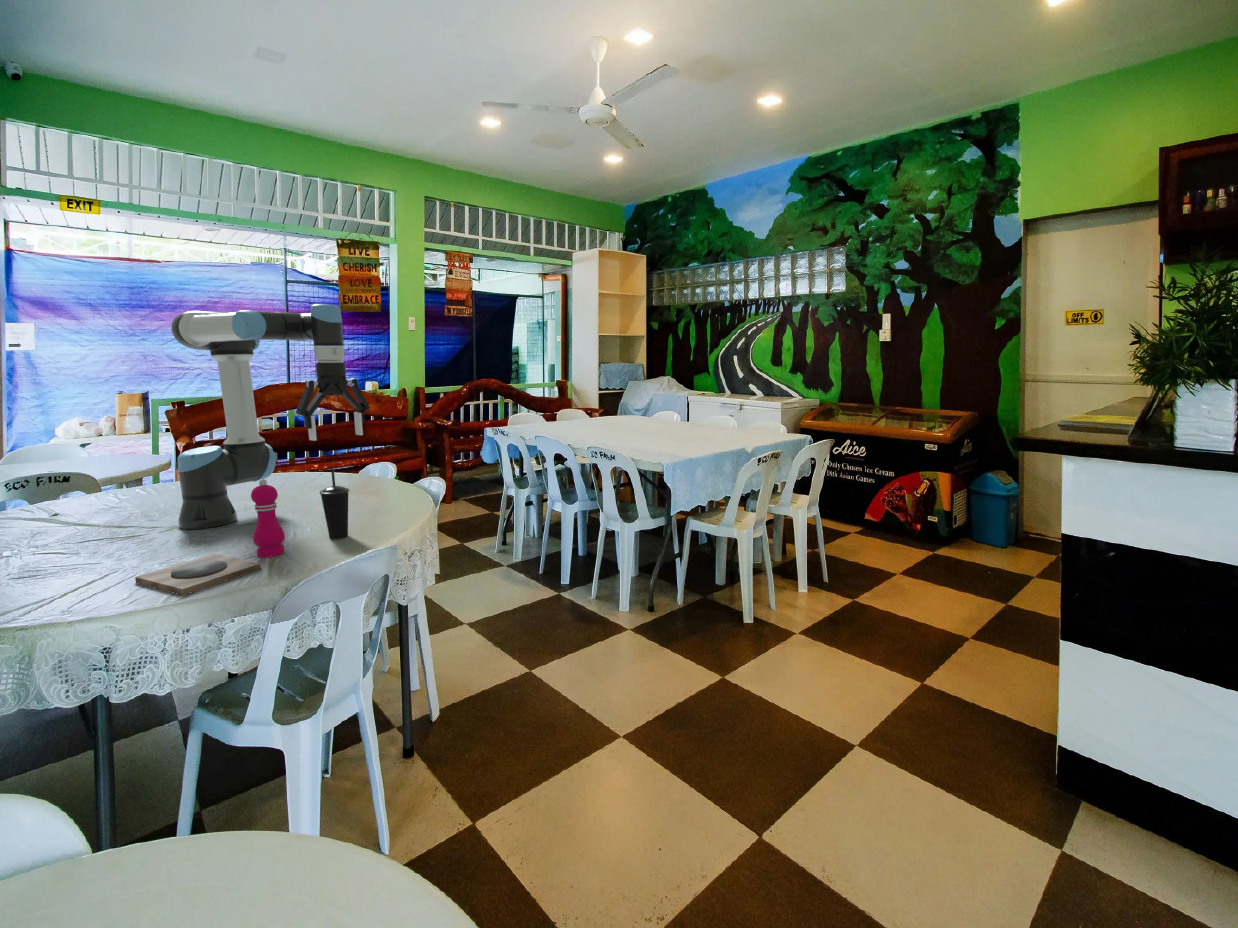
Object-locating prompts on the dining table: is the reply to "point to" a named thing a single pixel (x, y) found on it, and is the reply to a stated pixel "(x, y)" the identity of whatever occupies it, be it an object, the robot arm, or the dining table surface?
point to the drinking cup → (336, 509)
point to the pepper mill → (267, 521)
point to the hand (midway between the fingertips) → (336, 437)
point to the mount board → (197, 574)
